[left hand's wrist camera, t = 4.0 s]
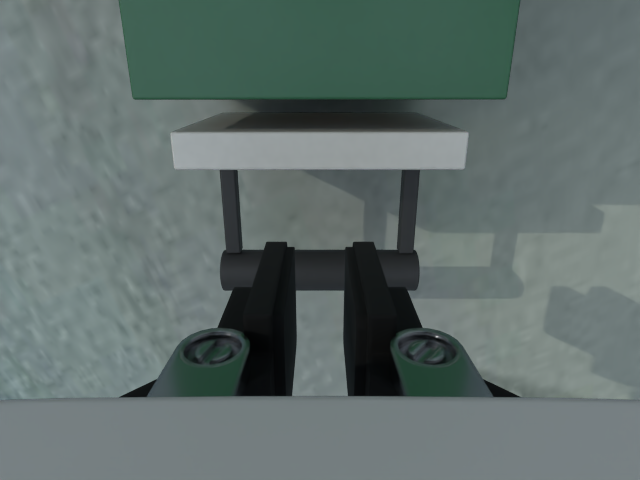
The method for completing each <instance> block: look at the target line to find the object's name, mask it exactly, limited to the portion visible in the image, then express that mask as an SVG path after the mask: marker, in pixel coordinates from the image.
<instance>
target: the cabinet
mask: <svg viewBox="0 0 640 480" xmlns="http://www.w3.org/2000/svg"><path fill="white" fill-rule="evenodd" d="M119 5H120V12H121V19H122V26H123V33H124V40H125V48H126V55H127V62H128V69H129V76H130V83H131V90H132V97H133V99H135V100H233V99H506V97H507V91H508V84H509V77H510V70H511V63H512V55H513V48H514V41H515V34H516V27H517V20H518V13H519V6H520V0H119Z"/></svg>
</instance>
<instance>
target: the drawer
mask: <svg viewBox="0 0 640 480" xmlns="http://www.w3.org/2000/svg"><path fill="white" fill-rule="evenodd" d="M170 136H171V144H172V153H173V162H174V168H175V169H176V170H220V179H221V191H222V203H223V216H224V228H225V241H226V250H224V251H223V254H222V257H221V264H220V279H221V285H222V288H223V290H225V291H229V290H233V289H234V287H252V285H253V282H254V279H255V276H256V273H257V270H258V266H259V263H260V260H261V257H262V254H263V251H264V250H242V248H243V247H242V232H241V217H240V202H239V187H238V172H237V170H402V178H401V193H400V209H399V224H398V239H397V249H398V250H376V251H377V254H378V257H379V260H380V263H381V266H382V270H383V273H384V276H385V279H386V282H387V285H388V287H406V289H407V290H416V289H417V287H418V283H419V259H418V255H417V252H416V251H415V250H413V249H414V236H415V224H416V211H417V198H418V186H419V173H420V170H463V169H465V164H466V156H467V147H468V138H469V133H468V132H467V131H464V130H462V129H459V128H456V127H454V126H451V125H448V124H445V123H443V122H440V121H437V120H435V119H432V118H429V117H427V116H424V115H421V114H419V113H221V114H218V115H216V116H213V117H210V118H208V119H205V120H202V121H200V122H197V123H194V124H192V125H189V126H186V127H184V128H181V129H178V130H175V131H173V132H171V134H170ZM295 284H296V290H344V284H345V250H295Z"/></svg>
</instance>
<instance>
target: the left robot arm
mask: <svg viewBox="0 0 640 480" xmlns="http://www.w3.org/2000/svg"><path fill="white" fill-rule="evenodd" d="M343 340H344V355H345V366H346V378H347V389H348V396H292V389H293V378H294V367H295V355H296V341H297V331H296V284H295V248H294V247H287V242H266V245H265V248H264V251H263V254H262V257H261V260H260V263H259V266H258V270H257V273H256V276H255V279H254V282H253V285H252V287H234V289H233V291H232V294H231V296H230V298H229V301H228V303H227V306H226V308H225V311H224V313H223V316H222V318H221V320H220V323H219V325H218V328H211V329H207V330H202V331H199V332H196V333H194V334H191V335H190V336H188V337H187V338H185V339H184V340H182V341H181V343H180V344H179V345H178V346H177V347H176V349H175V351H174V352H173V354H172V356H171V357H170V359H169V361H168V362H167V364H166V366H165V367H164V369H163V370H162V372H161V374H160V375H159V377H158V379H156V380H154V381H152V382H150V383H148V384H146V385H144V386H142V387H140V388H137V389H135V390H133V391H131V392H129V393H127V394H125V395H123V396H121V397H119V398H53V399H21V400H0V480H640V400H621V399H584V398H525V397H519V396H517V395H515V394H513V393H511V392H509V391H507V390H505V389H503V388H500V387H498V386H496V385H494V384H492V383H490V382H488V381H486V380H484V379H482V377H481V375H480V374H479V372H478V370H477V369H476V367H475V366H474V364H473V362H472V361H471V359H470V357H469V356H468V354H467V352H466V351H465V349H464V347H463V346H462V345H461V344H460V343H459V341H458V340H456V339H455V338H453V337H452V336H450V335H449V334H446V333H444V332H441V331H438V330H433V329H429V328H422V325H421V323H420V320H419V318H418V316H417V313H416V311H415V308H414V306H413V303H412V301H411V298H410V296H409V294H408V291H407V289H406V287H388V285H387V282H386V279H385V276H384V273H383V270H382V266H381V263H380V260H379V257H378V254H377V251H376V248H375V245H374V242H353V247H346V248H345V284H344V331H343Z"/></svg>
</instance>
